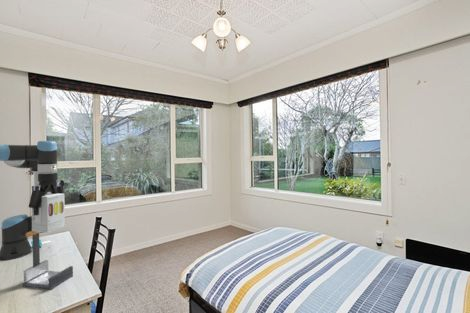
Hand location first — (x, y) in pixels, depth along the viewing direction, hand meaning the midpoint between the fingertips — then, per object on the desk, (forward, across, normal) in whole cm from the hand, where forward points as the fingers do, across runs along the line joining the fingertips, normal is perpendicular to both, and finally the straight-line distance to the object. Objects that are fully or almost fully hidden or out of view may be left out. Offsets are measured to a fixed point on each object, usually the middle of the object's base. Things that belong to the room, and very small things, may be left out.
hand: (48, 218), depth 116 cm
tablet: (+32, +39, +50) cm, 71 cm away
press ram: (+29, 0, +8) cm, 30 cm away
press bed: (+31, 0, 0) cm, 31 cm away
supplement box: (+5, 0, 0) cm, 5 cm away
